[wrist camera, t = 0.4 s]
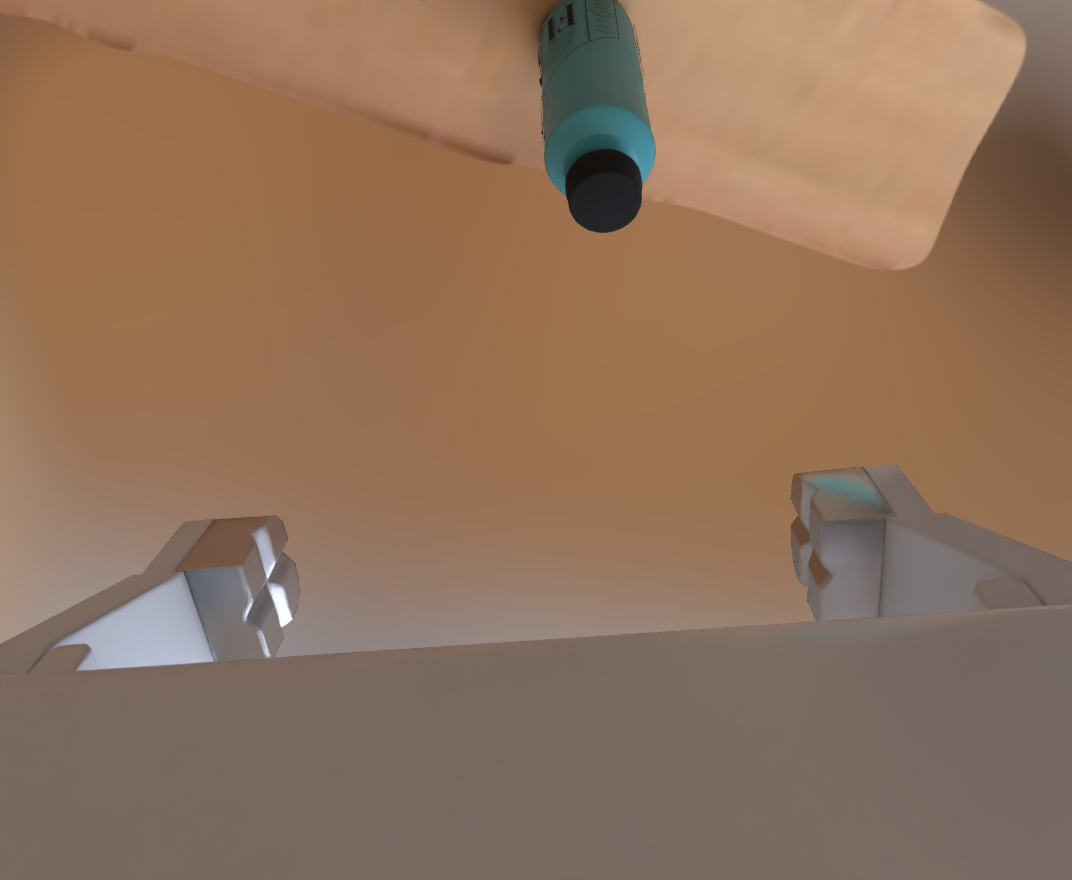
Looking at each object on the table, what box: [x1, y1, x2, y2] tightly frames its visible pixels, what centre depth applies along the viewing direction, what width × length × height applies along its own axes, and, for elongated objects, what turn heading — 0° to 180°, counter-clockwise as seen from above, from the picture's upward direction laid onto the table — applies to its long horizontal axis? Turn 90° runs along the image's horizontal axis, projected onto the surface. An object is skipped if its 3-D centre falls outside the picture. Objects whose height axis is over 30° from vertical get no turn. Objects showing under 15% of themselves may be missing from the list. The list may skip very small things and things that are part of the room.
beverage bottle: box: [538, 0, 656, 233], centre depth 51 cm, size 6×7×20 cm
